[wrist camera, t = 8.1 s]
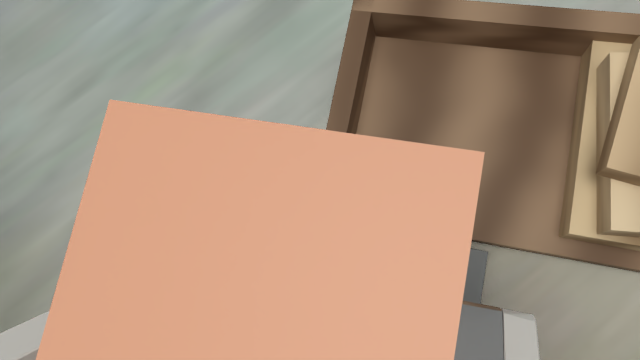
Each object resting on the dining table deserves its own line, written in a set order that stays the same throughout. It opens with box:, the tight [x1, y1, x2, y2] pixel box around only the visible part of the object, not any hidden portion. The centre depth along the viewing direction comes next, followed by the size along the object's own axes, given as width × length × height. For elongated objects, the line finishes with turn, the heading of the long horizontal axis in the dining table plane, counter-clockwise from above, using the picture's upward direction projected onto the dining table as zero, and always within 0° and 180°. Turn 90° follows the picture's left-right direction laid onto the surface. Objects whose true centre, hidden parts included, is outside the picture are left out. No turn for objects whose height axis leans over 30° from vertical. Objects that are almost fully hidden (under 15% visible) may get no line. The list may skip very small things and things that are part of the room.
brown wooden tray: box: [326, 0, 640, 272], centre depth 28 cm, size 21×13×4 cm, turn 78°
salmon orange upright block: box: [36, 100, 485, 360], centre depth 10 cm, size 4×5×12 cm
